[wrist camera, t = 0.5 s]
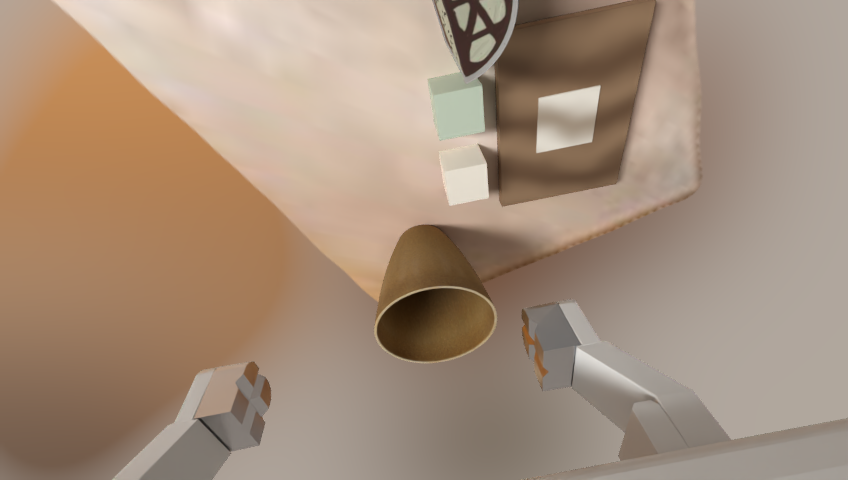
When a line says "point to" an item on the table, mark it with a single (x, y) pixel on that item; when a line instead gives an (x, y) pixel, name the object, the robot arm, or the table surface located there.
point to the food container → (476, 31)
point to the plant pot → (431, 301)
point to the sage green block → (456, 106)
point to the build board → (568, 100)
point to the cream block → (464, 174)
